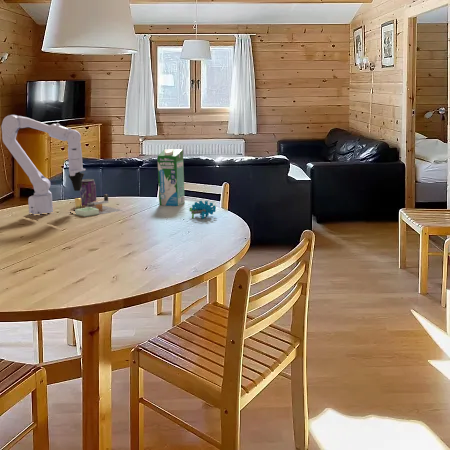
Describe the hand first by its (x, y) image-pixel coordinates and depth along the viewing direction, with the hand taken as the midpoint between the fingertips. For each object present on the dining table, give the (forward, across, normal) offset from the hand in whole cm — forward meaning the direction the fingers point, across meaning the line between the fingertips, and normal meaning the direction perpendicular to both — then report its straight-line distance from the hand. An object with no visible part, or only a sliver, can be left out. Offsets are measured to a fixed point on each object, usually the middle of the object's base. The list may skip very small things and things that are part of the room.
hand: (77, 190), depth 263 cm
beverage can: (+10, +16, -1) cm, 19 cm away
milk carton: (+10, +18, -39) cm, 44 cm away
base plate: (+10, 0, -6) cm, 12 cm away
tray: (+9, -7, -5) cm, 13 cm away
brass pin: (+9, 0, 0) cm, 9 cm away
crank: (+7, +3, -8) cm, 11 cm away
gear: (+10, -13, -54) cm, 57 cm away
